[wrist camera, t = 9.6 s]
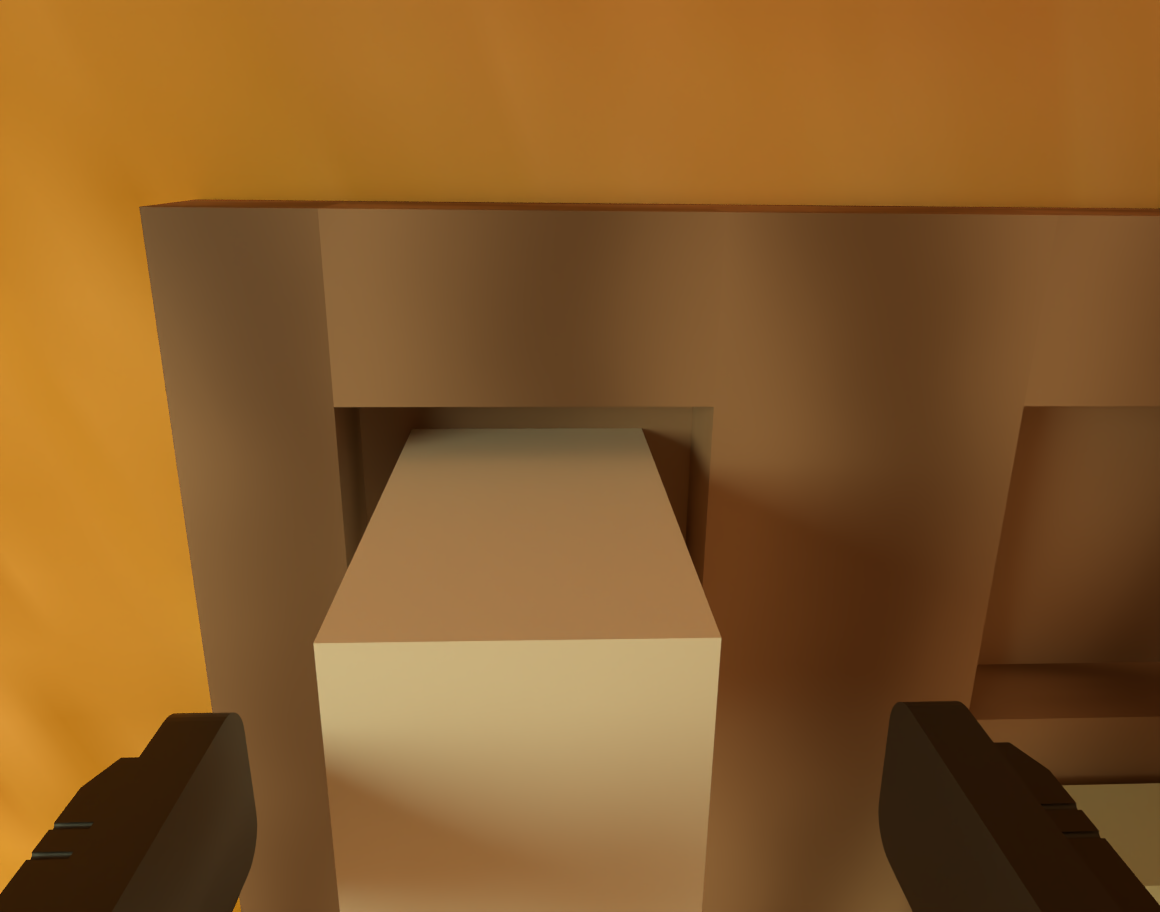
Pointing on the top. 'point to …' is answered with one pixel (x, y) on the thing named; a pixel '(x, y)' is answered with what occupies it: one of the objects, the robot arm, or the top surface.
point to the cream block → (520, 683)
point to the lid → (1127, 824)
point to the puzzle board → (702, 474)
